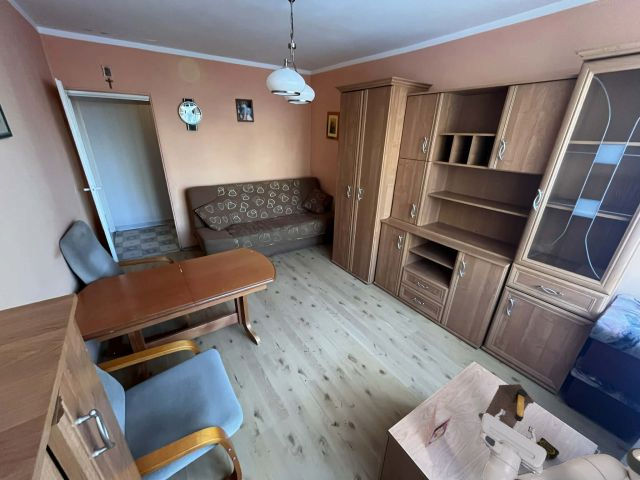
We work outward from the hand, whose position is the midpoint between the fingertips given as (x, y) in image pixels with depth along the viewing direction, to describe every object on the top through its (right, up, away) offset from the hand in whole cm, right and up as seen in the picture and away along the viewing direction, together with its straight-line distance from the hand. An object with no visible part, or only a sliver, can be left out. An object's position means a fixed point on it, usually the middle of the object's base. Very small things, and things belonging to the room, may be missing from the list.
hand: (517, 418), depth 102 cm
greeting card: (-28, -19, +16) cm, 37 cm away
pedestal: (+6, -18, +21) cm, 29 cm away
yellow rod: (+5, +1, +6) cm, 7 cm away
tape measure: (+22, -23, +13) cm, 35 cm away
